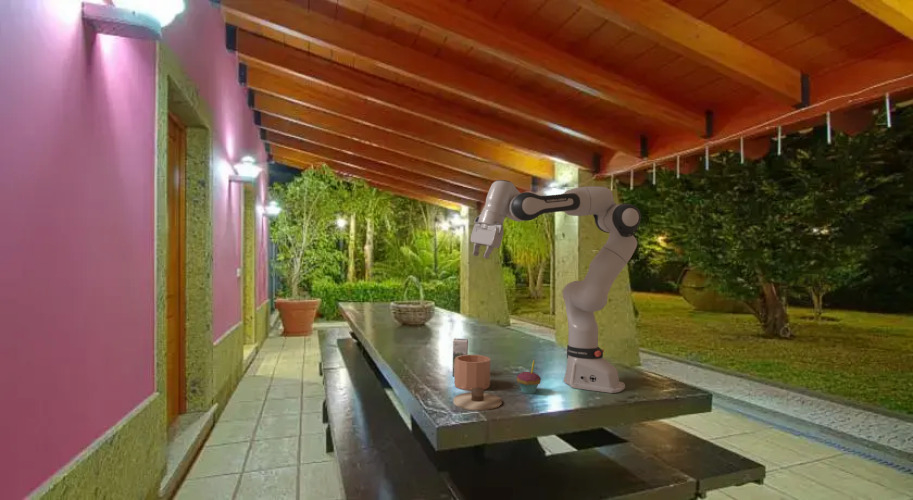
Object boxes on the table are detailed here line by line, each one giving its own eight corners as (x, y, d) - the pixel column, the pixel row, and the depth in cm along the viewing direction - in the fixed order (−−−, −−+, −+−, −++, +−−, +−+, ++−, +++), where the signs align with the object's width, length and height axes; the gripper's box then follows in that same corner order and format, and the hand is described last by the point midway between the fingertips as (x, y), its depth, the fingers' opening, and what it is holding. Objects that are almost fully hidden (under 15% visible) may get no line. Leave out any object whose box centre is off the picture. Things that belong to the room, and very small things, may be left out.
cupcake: (542, 390, 167) (542, 356, 167) (538, 396, 159) (539, 361, 159) (518, 387, 170) (519, 354, 170) (513, 393, 162) (514, 359, 162)
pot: (496, 384, 173) (496, 358, 173) (477, 392, 162) (477, 364, 162) (467, 378, 180) (468, 353, 181) (447, 386, 170) (448, 359, 170)
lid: (510, 402, 154) (510, 388, 154) (485, 415, 141) (485, 399, 141) (470, 393, 163) (470, 379, 163) (443, 404, 150) (443, 390, 150)
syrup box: (467, 373, 188) (468, 338, 188) (466, 377, 182) (467, 340, 183) (453, 373, 189) (454, 337, 189) (452, 377, 183) (452, 340, 183)
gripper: (511, 225, 164) (499, 262, 163) (487, 223, 183) (476, 256, 182) (496, 219, 161) (484, 257, 161) (473, 218, 180) (462, 252, 180)
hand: (480, 256), depth 172 cm, fingers open, 8 cm apart
